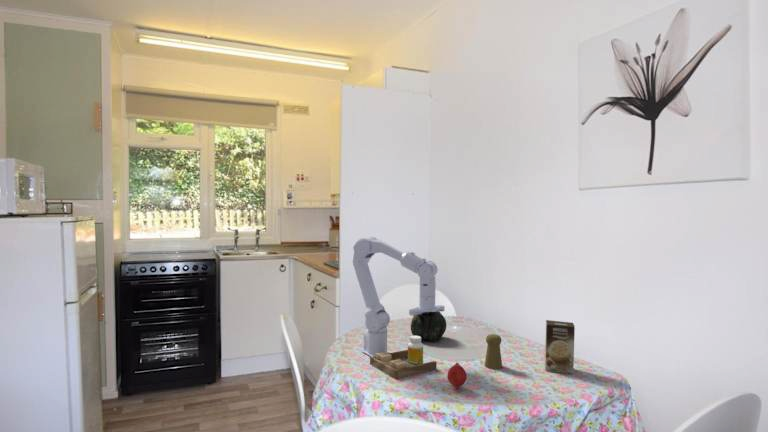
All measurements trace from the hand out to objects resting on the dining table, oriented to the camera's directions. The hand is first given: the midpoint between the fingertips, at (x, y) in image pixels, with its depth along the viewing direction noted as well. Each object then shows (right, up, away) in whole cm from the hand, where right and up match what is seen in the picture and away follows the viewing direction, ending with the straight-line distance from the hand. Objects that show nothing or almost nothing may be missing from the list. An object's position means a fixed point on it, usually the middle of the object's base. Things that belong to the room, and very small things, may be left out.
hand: (426, 333), depth 159 cm
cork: (+23, -11, -4) cm, 26 cm away
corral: (-8, -10, -5) cm, 14 cm away
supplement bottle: (-4, -10, -3) cm, 12 cm away
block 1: (-16, -10, -4) cm, 19 cm away
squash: (+3, -10, +28) cm, 30 cm away
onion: (+7, -11, -24) cm, 27 cm away
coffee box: (+45, -11, -7) cm, 47 cm away
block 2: (-11, -10, -12) cm, 19 cm away
